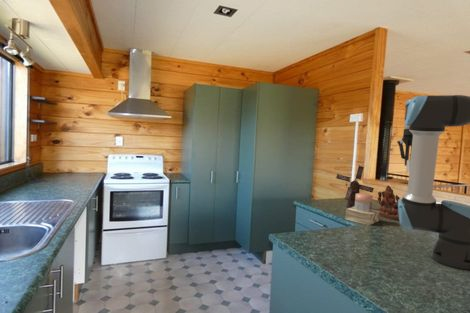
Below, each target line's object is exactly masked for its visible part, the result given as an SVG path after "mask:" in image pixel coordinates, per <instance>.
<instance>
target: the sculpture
mask: <svg viewBox="0 0 470 313" xmlns="http://www.w3.org/2000/svg"><path fill="white" fill-rule="evenodd" d="M377 196H378V197H377V202H378V203H379V205H380V207H379V210H378V211H380V216H379V217H383V218H385V219H390V220H393V221H397V222H398V221H399V213H398V200H399V199H401V198H400V196H399V195H398V194H396V195H395V194H394V189H393V188H391V186H390V185H386V186H385V190H383V191H378V192H377ZM399 222H400V221H399Z"/></svg>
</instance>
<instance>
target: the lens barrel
mask: <svg viewBox="0 0 470 313" xmlns="http://www.w3.org/2000/svg"><path fill="white" fill-rule="evenodd" d="M354 209H355V210H357V211H362V212H370V211H371V210H372V209H373V202H372V203H360V202H356V201H355V208H354Z"/></svg>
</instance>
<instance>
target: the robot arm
mask: <svg viewBox="0 0 470 313" xmlns="http://www.w3.org/2000/svg"><path fill="white" fill-rule="evenodd" d="M404 108H405V112H404V123H403V128H404V129H403V133H402V134H403V135H402V138H401V139H400V140H397V145H398V146H399V152H400V158H401V159H403V160H404V166H405V172H406V173H408V183H407V191H406V192H405V193H403V194H402V197H401V198H400V199H399V200H398V213H399V225H400V226H401V227H402V228H404V229H405V228H406V229H410V230H412V231H413V230H416V231H422V232H429V233H437V234H438V238H437V241H436V242H435V243H434V246H433V247H432V250H431V258H432V259H433V260H434V261H436V262H438V263H441V264H443V265H445V266H449V267H452V268H456V269H461V270H467V271H470V205H468V204H465V203H461V202H459V201H458V202H457V201H453V200H446V199H443V200H441V202H440V203H437V198H435V196H433V192H434V182H435V175H436V166H437V157H438V148H439V139H440V135H441V136H442V134H443V133H445V131H446V128H448V127H451V128H452V127H462V126H467V125H470V96H468V95H463V94H454V95H453V94H451V95H450V94H448V95H447V94H445V95H441V94H439V95H417V96H414V97H413V98H411V99H407V100H405V106H404ZM403 144H405V148H404V145H403ZM404 149H405V150H404ZM409 157H410V158H409Z"/></svg>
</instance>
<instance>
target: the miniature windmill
mask: <svg viewBox="0 0 470 313" xmlns="http://www.w3.org/2000/svg"><path fill="white" fill-rule="evenodd" d="M364 168H365V166H361V165H358V167H357V172H356V176H355V180H352V181H351V177H350V176H348V175H347V176H346V175H342V174H339V173H337V174H336V177H335V179H337V180H341V181H345V182H349V183H350V184H349V186H348V188H347V191H346V193H345V194H346V195H345V197H344V200H346V201H347V203H346V209H348V208H351V207H354V206H355V196H356V193H361V192H360V191H361V190H362V191H364V192H368V193H372V194H373V192H374V189H375V188H374V187H371V186H368V185H363V184H360V182H359V181H357V180H360V181H361V180H362V175H363V172H364Z"/></svg>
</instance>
